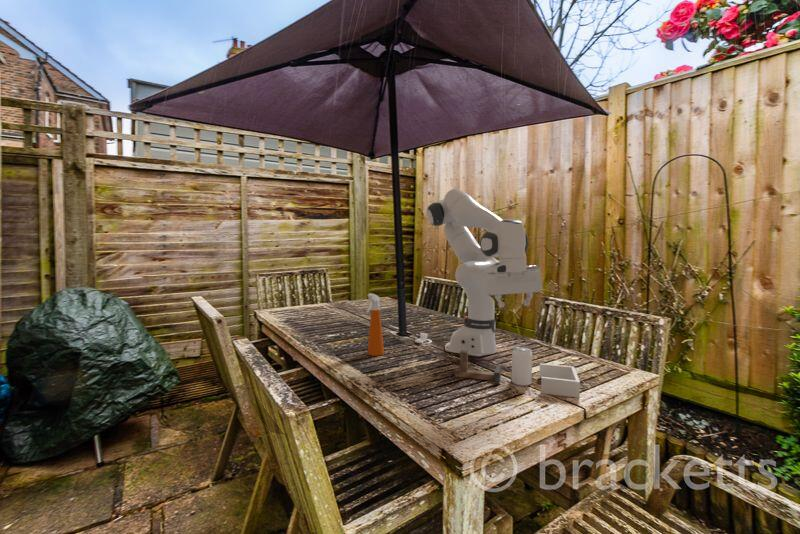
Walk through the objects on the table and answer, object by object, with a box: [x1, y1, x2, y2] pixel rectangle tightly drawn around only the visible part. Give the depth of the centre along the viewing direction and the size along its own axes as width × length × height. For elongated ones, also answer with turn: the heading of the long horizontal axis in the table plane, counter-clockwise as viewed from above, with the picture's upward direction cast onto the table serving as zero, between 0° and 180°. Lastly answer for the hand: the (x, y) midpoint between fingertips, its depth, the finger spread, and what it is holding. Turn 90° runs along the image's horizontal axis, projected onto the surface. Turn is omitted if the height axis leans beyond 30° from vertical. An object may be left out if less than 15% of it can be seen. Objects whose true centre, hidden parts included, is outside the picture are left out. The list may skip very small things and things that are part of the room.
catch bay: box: [538, 362, 581, 399], centre depth 122 cm, size 11×14×5 cm
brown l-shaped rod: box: [454, 350, 502, 385], centre depth 130 cm, size 16×8×9 cm, turn 72°
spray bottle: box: [365, 292, 385, 357], centre depth 154 cm, size 7×11×26 cm, turn 155°
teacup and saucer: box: [414, 332, 433, 345], centre depth 174 cm, size 9×8×4 cm
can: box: [511, 345, 533, 387], centre depth 125 cm, size 6×6×12 cm
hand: (514, 306), depth 127 cm, fingers open, 8 cm apart
